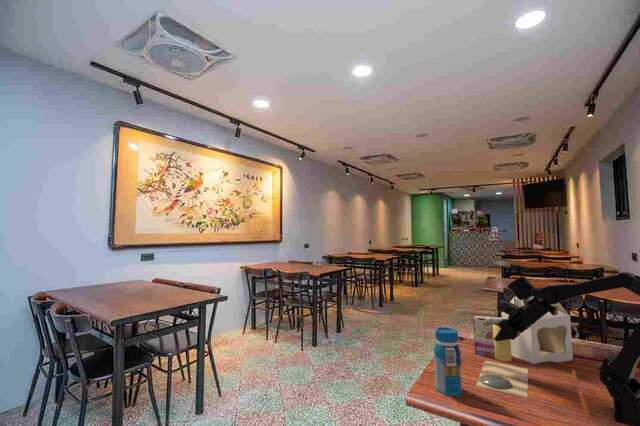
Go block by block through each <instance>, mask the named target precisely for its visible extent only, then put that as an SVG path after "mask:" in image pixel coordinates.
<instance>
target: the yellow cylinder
mask: <svg viewBox="0 0 640 426" xmlns="http://www.w3.org/2000/svg"><path fill="white" fill-rule="evenodd" d="M502 320H503V319H493V320H492V321H493V333H494V338H495V337H496V335H497V334H498V332H499V331H500V330H501V328H500V327H499V326H498V323H499V322H501V321H502ZM494 351H495V357H494V358H495V359H496V360H497V361H501V362H511V361H513V359H512V358H513V357H512V355H511V339H508V340H502V341H495V340H494Z"/></svg>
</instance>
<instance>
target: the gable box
mask: <svg viewBox="0 0 640 426" xmlns="http://www.w3.org/2000/svg"><path fill="white" fill-rule="evenodd" d="M543 287H544V286H543ZM543 287H542V288H543ZM533 298H534V296H533V297H532V298H531V299H533ZM531 299H529V300H528V301H530V300H531ZM510 302H511V303H513V304H514V305H516V306H518V307H521V306H524V305H525V303H524V302H525V301H524V299H523V300H522V301H521V300H519V299H518V298H517V297H516V296H514V297H513V298H512V299H511V300H510ZM551 305H552V306H557V307H558V309H557V311H558V315H552V314H551V313H550V312H548V313H547V314H545V315H544V316H543V317H541V318H540V319H539V320H537V321H536V322H535V323H534V324H532V326H531V327H529V328H528V329H527V330H524V332H522V333H520V335H519V336H518V337H517V338H515V339H514V340H512V339H511V355H512V356H513V357H515V358H517V359H520V360H523V361H525V362H528V363H530V364H533V365H535V364H539V363H545V362H553V363H554V362H555V363H564V362H569V361H573V359H574V356H573V354H574V353H573V340H572V339H573V338H572V326H571V323H572V322H571V321H572V320H571V315H570V314H569V313H568V311H567V310H566V309H565V307H564V306H563V305H562V304H561V302H560V303H557V304H551ZM508 316H509V315H508V314H506V313H504V312H503V311H501V318H503V320H504V319H508V318H509V317H508Z"/></svg>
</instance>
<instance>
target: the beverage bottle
mask: <svg viewBox="0 0 640 426" xmlns="http://www.w3.org/2000/svg"><path fill="white" fill-rule="evenodd" d="M434 333H435V334H434V336H435V340H436V342H435V344H434V347H433V353H434V355H433V363H434V365H433V366H434V382H435V383H434V388H435V390H436V391H437V392H438V393H440V394H442V395H444V396H450V397H457V396H460V395H462V394H463V383H462V382H463V381H462V380H463V378H462V366H463V362H462V361H463V360H462V358H461V355H462V352H461V349H460V347H459V345H458V344H457V343H458V341H459V332H458V330H456V329H455V328H452V327H443V326H441V327H436V328H435V332H434Z"/></svg>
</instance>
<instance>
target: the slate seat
mask: <svg viewBox="0 0 640 426" xmlns="http://www.w3.org/2000/svg"><path fill="white" fill-rule="evenodd" d="M479 376H480V375H479ZM480 381H481V382H482V383H483V384H484V385H486V386H489V387H492V388H496V389H508V388H510V387H511V382H510V381H509V380H507V379H506V378H503V377H501V376H497V375H489V374H488V375H482V376H480Z"/></svg>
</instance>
